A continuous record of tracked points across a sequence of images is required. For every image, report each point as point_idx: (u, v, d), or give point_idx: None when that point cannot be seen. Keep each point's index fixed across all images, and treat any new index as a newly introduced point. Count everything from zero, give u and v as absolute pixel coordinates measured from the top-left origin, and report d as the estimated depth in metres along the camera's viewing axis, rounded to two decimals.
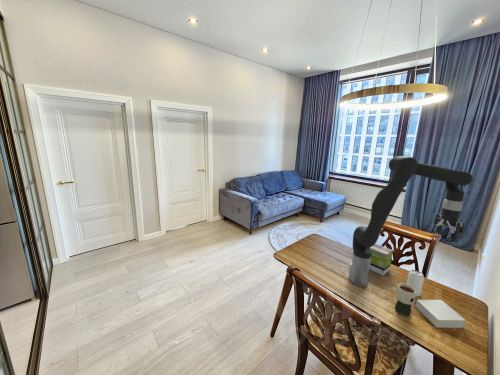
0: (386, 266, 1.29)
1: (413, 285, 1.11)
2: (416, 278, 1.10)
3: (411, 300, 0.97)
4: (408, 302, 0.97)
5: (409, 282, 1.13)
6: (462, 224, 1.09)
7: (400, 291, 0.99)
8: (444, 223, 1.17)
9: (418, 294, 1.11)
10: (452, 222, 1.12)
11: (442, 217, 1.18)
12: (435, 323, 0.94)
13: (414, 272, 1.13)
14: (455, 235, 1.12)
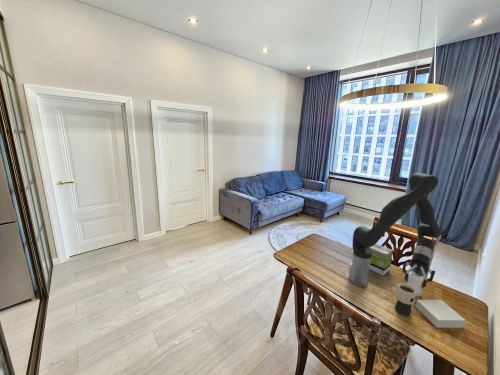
0: (386, 266, 1.29)
1: (413, 285, 1.11)
2: (416, 278, 1.10)
3: (411, 300, 0.97)
4: (408, 302, 0.97)
5: (409, 282, 1.13)
6: (434, 273, 1.11)
7: (400, 291, 0.99)
8: (416, 269, 1.15)
9: (418, 294, 1.11)
10: (426, 269, 1.13)
11: (412, 263, 1.17)
12: (435, 323, 0.94)
13: (414, 272, 1.13)
14: (426, 283, 1.10)
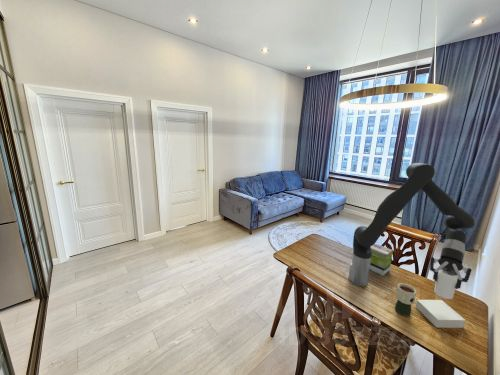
0: (386, 266, 1.29)
1: (445, 286, 0.93)
2: (448, 278, 0.92)
3: (411, 300, 0.97)
4: (408, 302, 0.97)
5: (439, 282, 0.95)
6: (470, 272, 0.93)
7: (400, 291, 0.99)
8: (447, 267, 0.97)
9: (451, 296, 0.93)
10: (459, 267, 0.95)
11: (442, 260, 0.99)
12: (435, 323, 0.94)
13: (445, 270, 0.95)
14: None
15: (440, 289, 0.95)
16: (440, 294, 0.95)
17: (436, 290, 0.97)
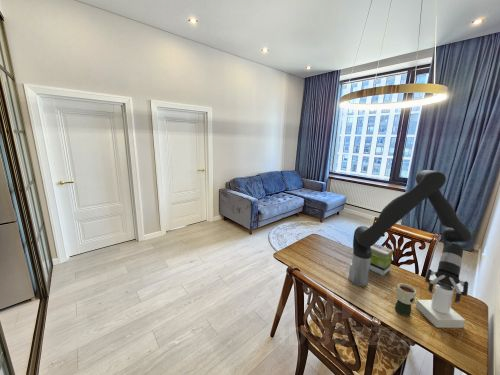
0: (386, 266, 1.29)
1: (441, 300, 0.95)
2: (444, 293, 0.94)
3: (411, 300, 0.97)
4: (408, 302, 0.97)
5: (435, 297, 0.97)
6: (467, 284, 0.95)
7: (400, 291, 0.99)
8: (443, 281, 0.98)
9: (447, 311, 0.95)
10: (456, 280, 0.96)
11: (439, 273, 1.00)
12: (435, 323, 0.94)
13: (441, 285, 0.97)
14: None
15: (436, 303, 0.97)
16: (437, 308, 0.97)
17: (433, 304, 0.98)
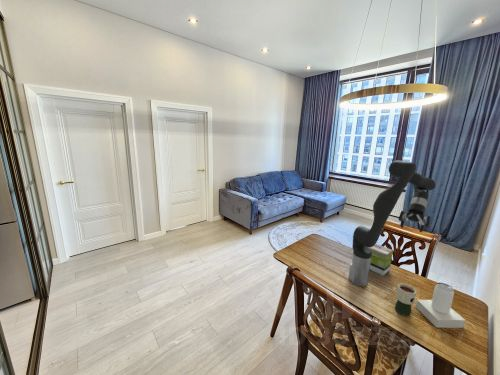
0: (386, 266, 1.29)
1: (441, 301, 0.95)
2: (445, 293, 0.94)
3: (411, 300, 0.97)
4: (408, 302, 0.97)
5: (436, 297, 0.97)
6: (429, 219, 1.21)
7: (400, 291, 0.99)
8: (411, 218, 1.24)
9: (447, 311, 0.95)
10: (421, 216, 1.22)
11: (409, 213, 1.26)
12: (435, 323, 0.94)
13: (442, 285, 0.97)
14: (423, 228, 1.19)
15: (437, 304, 0.97)
16: (437, 309, 0.97)
17: (433, 304, 0.98)
